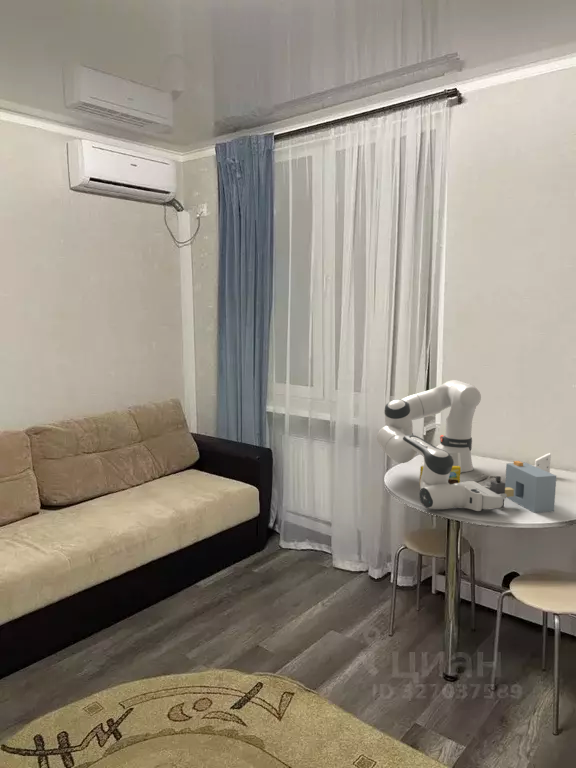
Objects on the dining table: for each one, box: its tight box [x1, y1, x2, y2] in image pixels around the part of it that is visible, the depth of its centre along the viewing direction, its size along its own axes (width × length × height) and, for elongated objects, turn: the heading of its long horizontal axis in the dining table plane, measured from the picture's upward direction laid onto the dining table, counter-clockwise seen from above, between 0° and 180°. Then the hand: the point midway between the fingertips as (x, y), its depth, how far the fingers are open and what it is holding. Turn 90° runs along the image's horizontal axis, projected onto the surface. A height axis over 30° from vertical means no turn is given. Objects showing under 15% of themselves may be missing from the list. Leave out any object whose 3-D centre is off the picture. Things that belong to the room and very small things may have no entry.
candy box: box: [419, 466, 462, 485], centre depth 236 cm, size 16×2×8 cm, turn 95°
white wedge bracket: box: [534, 452, 552, 473], centre depth 253 cm, size 4×10×9 cm, turn 84°
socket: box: [504, 460, 557, 514], centre depth 216 cm, size 8×18×14 cm, turn 13°
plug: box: [489, 475, 514, 509], centre depth 213 cm, size 8×4×11 cm, turn 103°
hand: (499, 492), depth 213 cm, fingers open, 6 cm apart
